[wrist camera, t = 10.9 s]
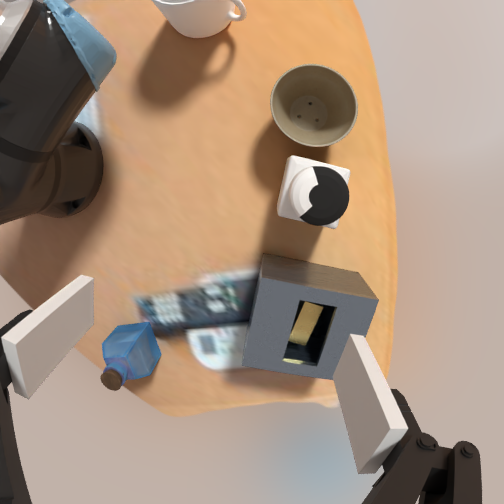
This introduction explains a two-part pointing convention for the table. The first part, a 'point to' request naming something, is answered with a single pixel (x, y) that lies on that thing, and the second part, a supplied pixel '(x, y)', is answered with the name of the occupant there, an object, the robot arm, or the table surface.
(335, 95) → the flower pot
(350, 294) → the coin box
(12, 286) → the table surface
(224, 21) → the mug
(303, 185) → the medicine bottle
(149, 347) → the perfume bottle
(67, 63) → the robot arm
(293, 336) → the block
